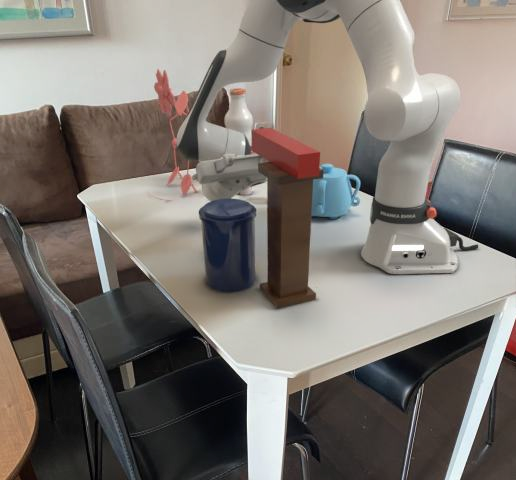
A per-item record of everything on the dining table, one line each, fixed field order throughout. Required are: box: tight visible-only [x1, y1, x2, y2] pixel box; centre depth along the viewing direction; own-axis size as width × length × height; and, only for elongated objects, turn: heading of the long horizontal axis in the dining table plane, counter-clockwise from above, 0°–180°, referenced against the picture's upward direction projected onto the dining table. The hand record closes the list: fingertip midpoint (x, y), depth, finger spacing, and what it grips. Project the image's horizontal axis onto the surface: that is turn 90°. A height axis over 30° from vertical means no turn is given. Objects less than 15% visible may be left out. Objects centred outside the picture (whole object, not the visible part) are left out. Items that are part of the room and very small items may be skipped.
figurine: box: [149, 68, 198, 202], centre depth 152 cm, size 15×26×35 cm, turn 29°
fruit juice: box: [224, 88, 255, 154], centre depth 163 cm, size 9×9×28 cm
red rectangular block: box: [251, 127, 321, 179], centre depth 93 cm, size 20×4×4 cm, turn 24°
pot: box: [198, 198, 257, 293], centre depth 109 cm, size 12×12×17 cm
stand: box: [258, 162, 324, 310], centre depth 100 cm, size 9×9×27 cm
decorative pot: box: [311, 163, 361, 220], centre depth 142 cm, size 16×16×14 cm
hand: (250, 157), depth 108 cm, fingers open, 8 cm apart
